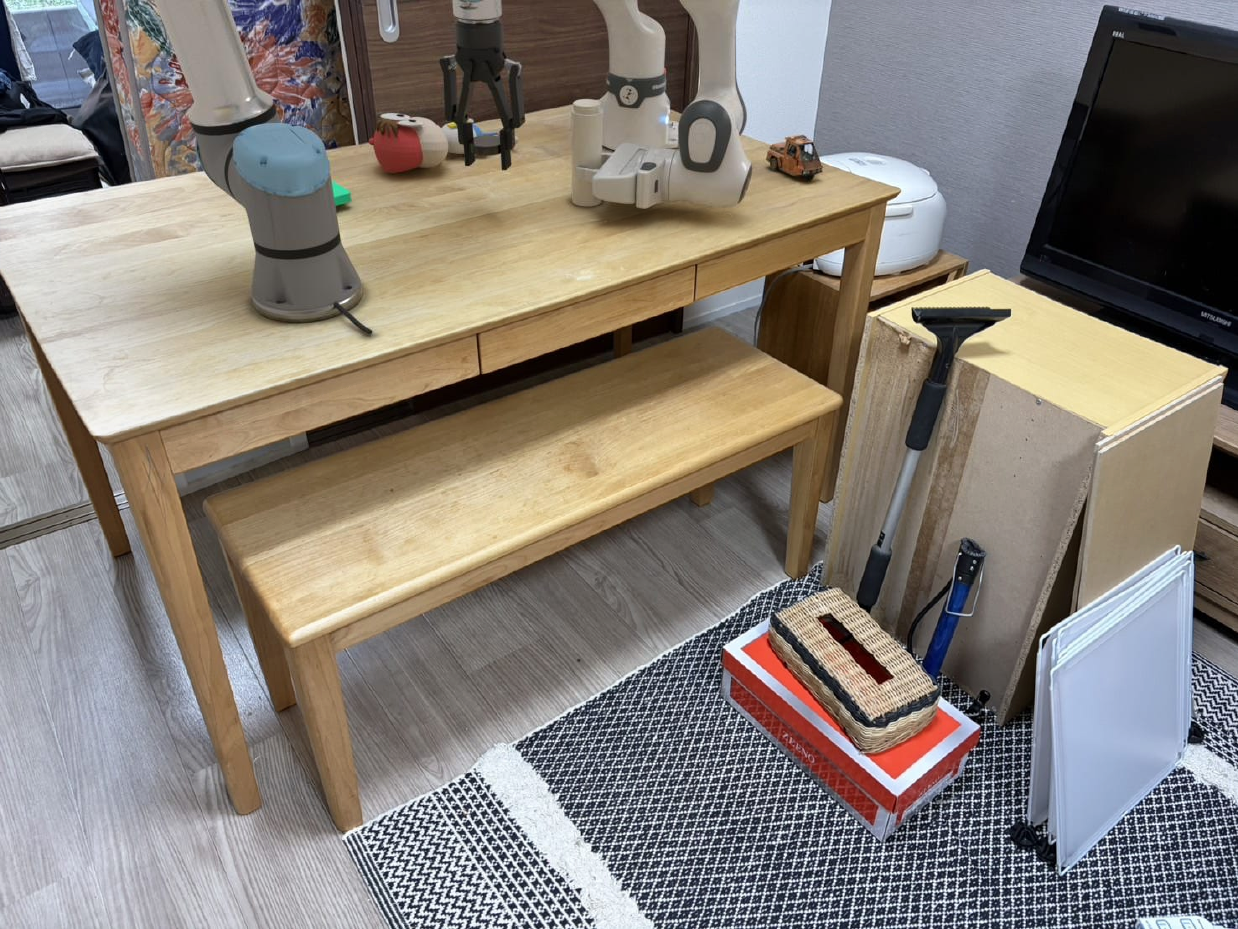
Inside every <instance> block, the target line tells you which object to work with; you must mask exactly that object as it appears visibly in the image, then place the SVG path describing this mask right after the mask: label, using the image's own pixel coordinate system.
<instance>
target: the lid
mask: <svg viewBox="0 0 1238 929" xmlns="http://www.w3.org/2000/svg"><path fill="white" fill-rule="evenodd" d="M469 150H470V152H471V153H473V154H475V156H481V157H491V156H497V155H501V151H500V137H499V136H498V135H482V136H476V137H473V138H471V139H470V140H469Z"/></svg>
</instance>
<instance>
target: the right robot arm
mask: <svg viewBox="0 0 1238 929" xmlns="http://www.w3.org/2000/svg"><path fill="white" fill-rule="evenodd" d="M592 1H593V3H595V5H596V6H597V8H598V9H599V11H600V12H601V14H602V16H603V19H604V21H605V25H606V29H607V34H608V35H607V36H608V59H609V60H608V64H609V65H608V67H609V68H608V70H607V71H606V77H605V78H606V79H605V83H606V91H607V92H606V93H605V94H604V95H603V96H602V97H601V98H600V99H599V102H600V104H601V107H600V109H602V111H603V117H602V147H605V148H607V149H609V150H612V151H613V152H605V153H603V152H602V167H601V168H600V169H594V170H592V169H588V168H587V166H578V167H577V168H576V170H575V177H576V178H579V179H585V180H587V181H589V182H591V183H592V194H593V196H594V197H596V198H598V199H601V201H605V202H610V203H611V202H612V203H616V204H617V203H618V204H624V205H633V204H635V207H636V208H638V209H649V208H650V207H652V206H654V205H656V204H661V203H663V202H664V203H672V204H673V203H674V204H675V203H680V202H681V203H682V202H683V203H688V204H690V205H693V206H695V207H696V206H697V207H706V208H732V207H736V206H737V205H739V204H740V203H741V202H742V201H743V199H744V198H745V196H746V193H747V191H748V188H749V185H750V182H751V179H752V176H753V175H752V174H753V163H751V161H750V159H749V158H748V156H747V154H746V152H745V149H744V147H743V144H742V140H741V136H742V134H743V133H744V131H745V128H746V125H747V120H748V113H747V107H746V104H745V101H744V99H743V96H742V94H741V92H740V88H739V85H738V80H737V35H736V34H737V20H738V13H739V7H740V1H741V0H678V1H679V2H680V5H682V7H683V8H684V10H686V11H687V13H688V14H689V15H690V17H691V19H692V21H693V23H694V25H695V28H696V33H697V38H698V65H699V66H698V67H699V86H698V90H697V93H696V95H695V98H694V100H693V101H692V102H691V103H689V105H687V106H686V108H684V110H683V111H682V113H681V114H680V117H679V120H678V121H675V120H672V119H670V118H671V100H670V99H669V97H668V95H667V93H666V90H667V77H666V75H667V68H666V67H665V59H666V58H665V57H666V56H665V55H666V54H665V53H666V34H665V30H664V28H663V27H662V25H661V24H660V23H659V22H658V21H657V20H655V19H654V18H652V17H650V16H648V15H647V14H645V13H643V12H642V11H640V10H639V6H638V0H592ZM677 148H679V149H677Z"/></svg>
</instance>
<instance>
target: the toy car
mask: <svg viewBox="0 0 1238 929" xmlns="http://www.w3.org/2000/svg"><path fill="white" fill-rule="evenodd" d="M784 140H785V141H782V142H781V141H780V142H777V143H772V144H771V145H770V146H769V149H768V150H767V151H766V157H765V160H766V162H768V163H769V166H770V169H771V170H773V171H779V172H783V173H785V174H787V175H789V176H791V177H794V178H802V177H805V180H806V181H809V182H812V180H814V178H815V176H816V175H818V174H822V173H823V168H824V166H823V165H822V162H821V159H820V157H819V154H818V151H817V149H816V147H815V144H814V143H815V142H814V141H813V140H812V139H809V138H808V137H807V136H806V135H804V134H797V135H791V136H786V137H784ZM809 145H810V146H811V148H812V153H810V152H809V149H807V151H806V150H805V148H806V146H809Z"/></svg>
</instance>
